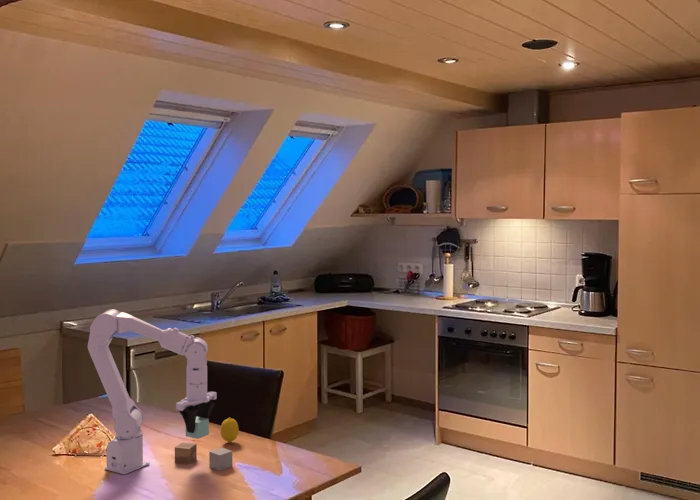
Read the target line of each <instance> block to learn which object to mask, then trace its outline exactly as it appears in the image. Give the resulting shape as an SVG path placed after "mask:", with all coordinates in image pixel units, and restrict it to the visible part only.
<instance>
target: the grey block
mask: <svg viewBox="0 0 700 500" xmlns="http://www.w3.org/2000/svg"><path fill="white" fill-rule="evenodd" d="M208 456H209V459H208V460H209V461H208V463H209V464H208V465H209V468H211V469H214V470H215V471H219V472H221V471H223V470H227V469H229V468H232V467H233V450H230V449H228V448H226V447H225V448H224V447H220V448H215V449H214V450H211V451H209V455H208Z"/></svg>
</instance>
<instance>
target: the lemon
mask: <svg viewBox="0 0 700 500" xmlns="http://www.w3.org/2000/svg"><path fill="white" fill-rule="evenodd" d="M239 432H240V431H239V424H238V422H237V420H235V419H234V418H231V417H228V418H227V419H224V420H223V421H222V423H221V426H220V436H221V438H222V439H223V440H224V441H226V442H227V443H228V444H231V443H232V442H234V441H235V440H236V439H237V438H238V436H239Z"/></svg>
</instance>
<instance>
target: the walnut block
mask: <svg viewBox="0 0 700 500" xmlns="http://www.w3.org/2000/svg"><path fill="white" fill-rule="evenodd" d="M197 446H198V445H197V443H191V442H183V441H182V442H181V443H180V444H178V445H176V446H174V463H176V464H177V463H178V464H181V465H182V464H183V465H190V464H191V463H193V462H194V461H196V460H197V458H198V457H197V453H198V451H197V450H198V448H197Z"/></svg>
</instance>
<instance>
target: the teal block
mask: <svg viewBox="0 0 700 500" xmlns="http://www.w3.org/2000/svg"><path fill="white" fill-rule="evenodd" d="M209 422H210V418H209V419H207V418H202V417H199V416H196V421H195V431H194V433H190V432H187V428H186V427H185V437H186V438H192V439H197V440H198V439H202V438H204V437H206V436H209V435H210V433H209V432H210V427H209V426H210V423H209Z"/></svg>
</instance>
